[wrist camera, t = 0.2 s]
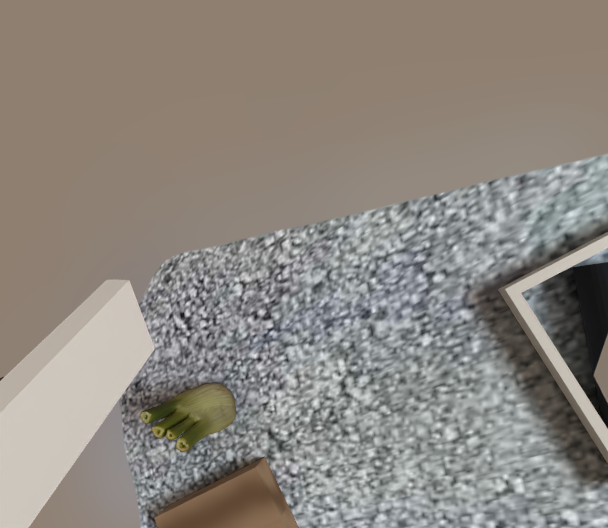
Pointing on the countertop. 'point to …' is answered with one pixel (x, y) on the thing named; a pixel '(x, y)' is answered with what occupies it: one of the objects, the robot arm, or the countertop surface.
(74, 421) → the robot arm
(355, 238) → the countertop surface
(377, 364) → the countertop surface
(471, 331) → the countertop surface
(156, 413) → the fennel bulb
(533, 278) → the parts tray
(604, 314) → the pipe connector
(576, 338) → the countertop surface
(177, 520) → the jig block
